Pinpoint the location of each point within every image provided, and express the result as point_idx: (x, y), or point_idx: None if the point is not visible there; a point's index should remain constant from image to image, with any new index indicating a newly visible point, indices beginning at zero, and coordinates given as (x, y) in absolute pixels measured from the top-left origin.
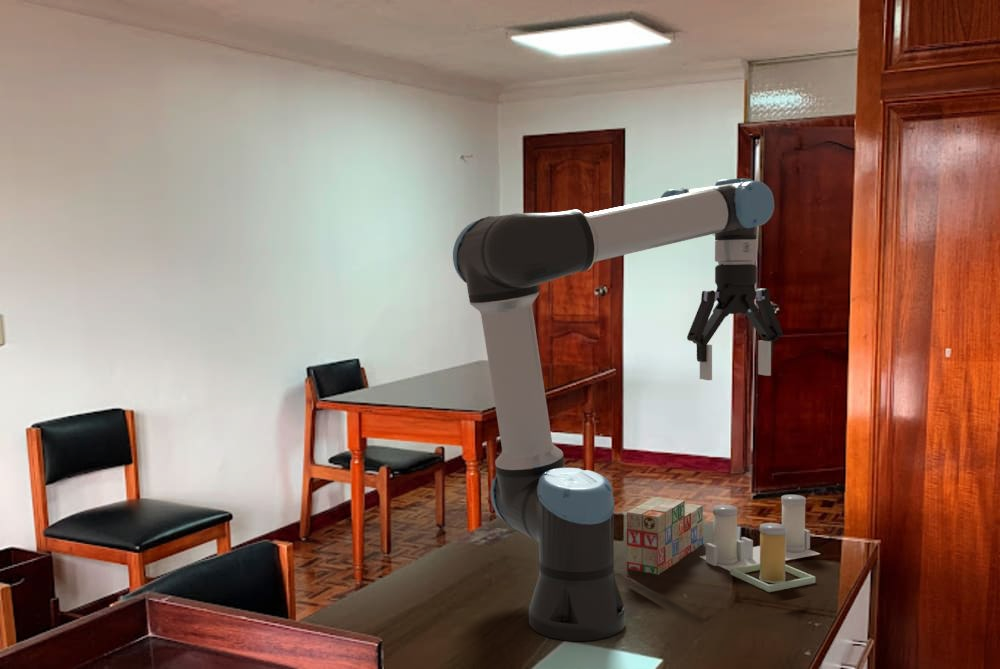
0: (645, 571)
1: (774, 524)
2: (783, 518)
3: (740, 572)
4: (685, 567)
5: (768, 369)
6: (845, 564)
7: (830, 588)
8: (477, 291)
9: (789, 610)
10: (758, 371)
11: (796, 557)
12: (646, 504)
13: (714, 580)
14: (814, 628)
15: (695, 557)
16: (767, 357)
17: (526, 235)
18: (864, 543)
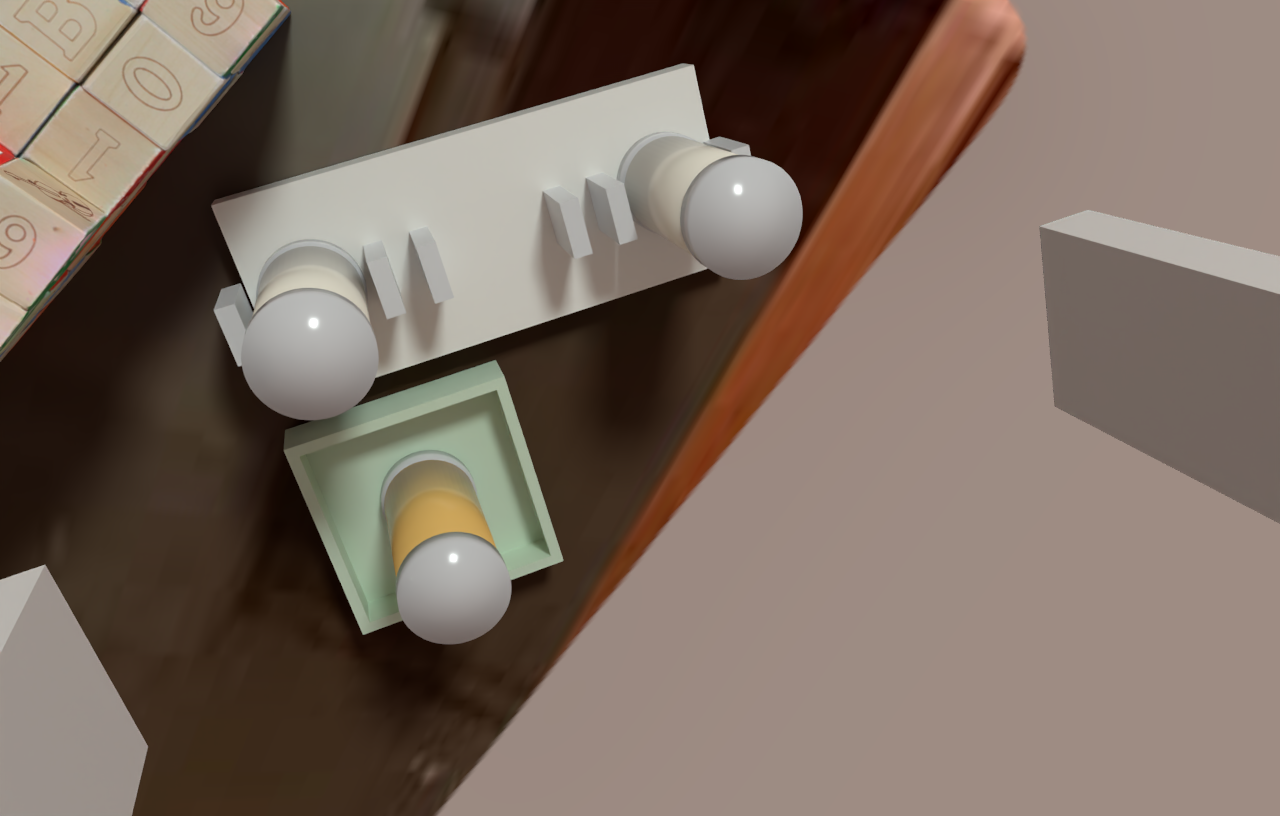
0: None
1: (473, 569)
2: (660, 208)
3: (308, 498)
4: (138, 227)
5: (1121, 431)
6: (791, 295)
7: (614, 515)
8: None
9: (395, 681)
10: (1067, 237)
11: (624, 288)
12: None
13: (226, 400)
14: (410, 801)
15: (225, 96)
16: (1251, 497)
17: None
18: (1000, 64)
